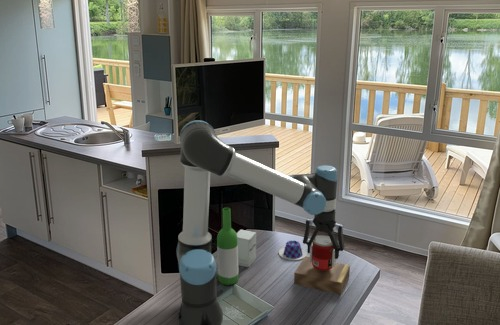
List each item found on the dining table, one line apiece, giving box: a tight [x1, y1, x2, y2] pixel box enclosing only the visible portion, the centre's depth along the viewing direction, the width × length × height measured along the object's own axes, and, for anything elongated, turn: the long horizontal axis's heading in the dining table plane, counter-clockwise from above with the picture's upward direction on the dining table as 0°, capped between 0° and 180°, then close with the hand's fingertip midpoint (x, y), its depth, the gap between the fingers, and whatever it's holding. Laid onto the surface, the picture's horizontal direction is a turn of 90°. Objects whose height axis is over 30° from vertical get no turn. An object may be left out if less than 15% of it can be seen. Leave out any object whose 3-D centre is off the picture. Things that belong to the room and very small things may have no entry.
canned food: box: [312, 235, 334, 271], centre depth 176 cm, size 8×8×11 cm
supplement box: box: [236, 229, 257, 268], centre depth 192 cm, size 7×7×13 cm
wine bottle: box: [216, 206, 240, 286], centre depth 176 cm, size 8×8×30 cm
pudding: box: [278, 240, 308, 261], centre depth 199 cm, size 12×12×5 cm
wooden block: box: [293, 255, 351, 296], centre depth 179 cm, size 18×13×5 cm
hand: (322, 262), depth 178 cm, fingers closed on canned food, 8 cm apart
